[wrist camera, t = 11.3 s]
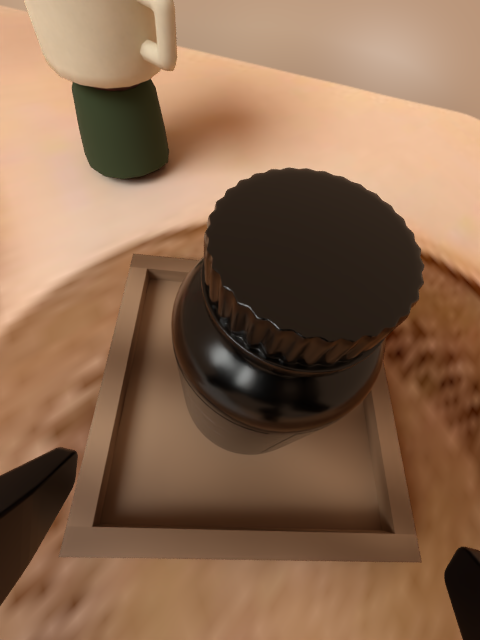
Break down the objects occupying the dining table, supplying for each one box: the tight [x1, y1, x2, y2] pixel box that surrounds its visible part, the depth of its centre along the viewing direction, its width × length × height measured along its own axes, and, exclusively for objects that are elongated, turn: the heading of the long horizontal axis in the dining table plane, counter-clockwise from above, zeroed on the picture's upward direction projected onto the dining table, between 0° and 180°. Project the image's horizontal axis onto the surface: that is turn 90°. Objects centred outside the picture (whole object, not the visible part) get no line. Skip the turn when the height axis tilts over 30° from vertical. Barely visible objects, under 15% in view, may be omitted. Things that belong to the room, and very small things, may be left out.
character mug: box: [24, 0, 177, 179], centre depth 19 cm, size 11×7×13 cm, turn 54°
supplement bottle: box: [171, 168, 424, 455], centre depth 12 cm, size 7×7×12 cm
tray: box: [59, 254, 422, 562], centre depth 17 cm, size 15×15×2 cm
